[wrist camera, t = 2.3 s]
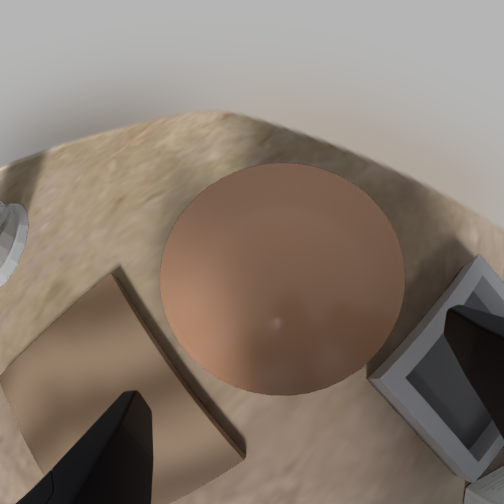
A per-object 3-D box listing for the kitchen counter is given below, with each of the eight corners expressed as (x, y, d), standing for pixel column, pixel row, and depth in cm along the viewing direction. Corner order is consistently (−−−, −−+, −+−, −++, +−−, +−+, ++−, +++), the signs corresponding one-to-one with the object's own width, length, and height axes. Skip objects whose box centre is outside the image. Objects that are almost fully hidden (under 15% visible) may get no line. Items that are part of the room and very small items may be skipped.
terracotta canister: (344, 342, 16) (447, 271, 5) (277, 400, 16) (265, 448, 5) (288, 281, 18) (289, 132, 7) (222, 334, 17) (121, 253, 6)
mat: (246, 455, 14) (243, 459, 13) (94, 532, 12) (87, 537, 11) (117, 277, 19) (110, 272, 19) (6, 378, 17) (-2, 377, 16)
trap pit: (533, 361, 14) (554, 356, 11) (454, 475, 12) (473, 483, 9) (461, 267, 17) (479, 253, 15) (366, 378, 15) (379, 378, 13)
